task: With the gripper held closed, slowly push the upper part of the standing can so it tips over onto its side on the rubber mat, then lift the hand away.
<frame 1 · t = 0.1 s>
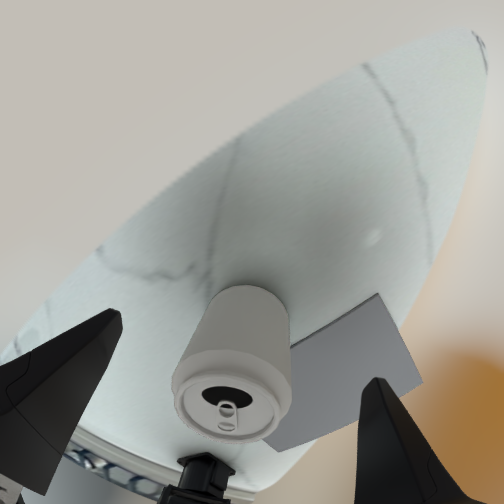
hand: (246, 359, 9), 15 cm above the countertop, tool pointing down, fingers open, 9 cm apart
can: (247, 318, 26), on the countertop
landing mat: (321, 391, 27), on the countertop
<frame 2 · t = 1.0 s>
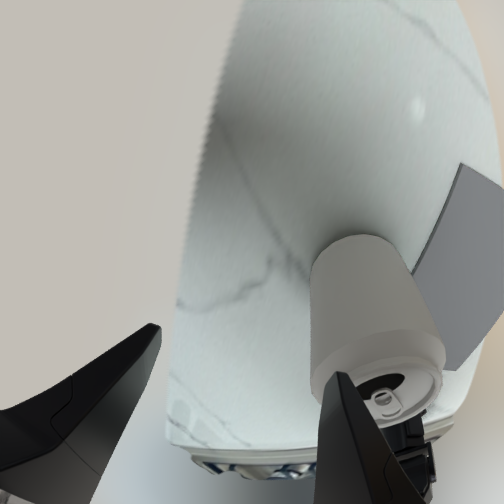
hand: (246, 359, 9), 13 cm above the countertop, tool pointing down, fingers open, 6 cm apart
can: (355, 271, 22), on the countertop
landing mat: (465, 292, 21), on the countertop
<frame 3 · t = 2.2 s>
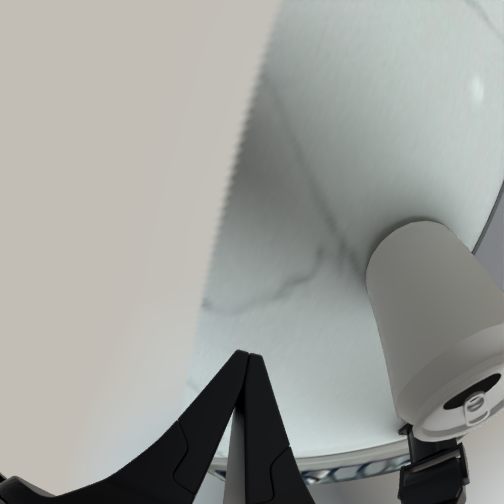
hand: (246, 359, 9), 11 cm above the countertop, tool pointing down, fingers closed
can: (411, 263, 18), on the countertop
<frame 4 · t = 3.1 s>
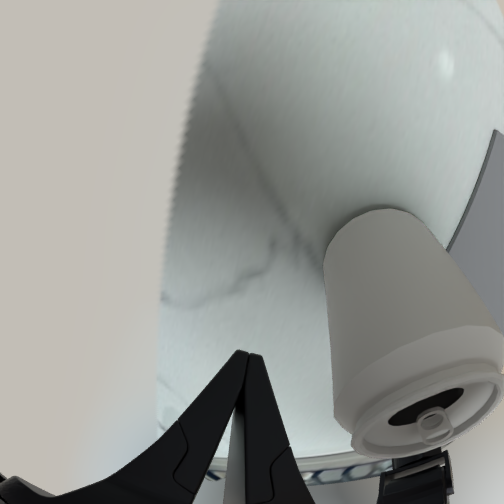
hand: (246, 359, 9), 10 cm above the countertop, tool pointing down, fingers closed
can: (377, 256, 17), on the countertop
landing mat: (496, 283, 17), on the countertop
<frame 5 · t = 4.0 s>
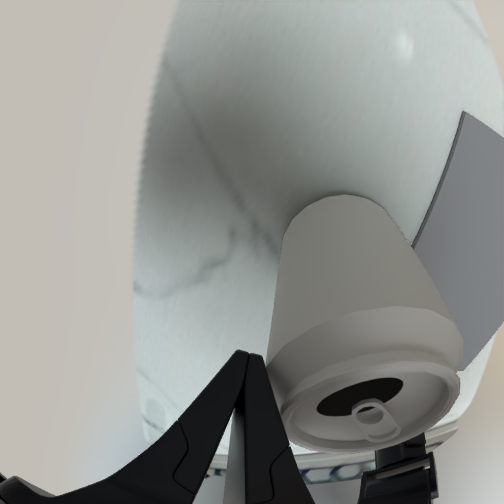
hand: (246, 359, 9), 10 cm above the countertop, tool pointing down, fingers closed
can: (340, 245, 18), on the countertop, touching gripper
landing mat: (476, 276, 17), on the countertop
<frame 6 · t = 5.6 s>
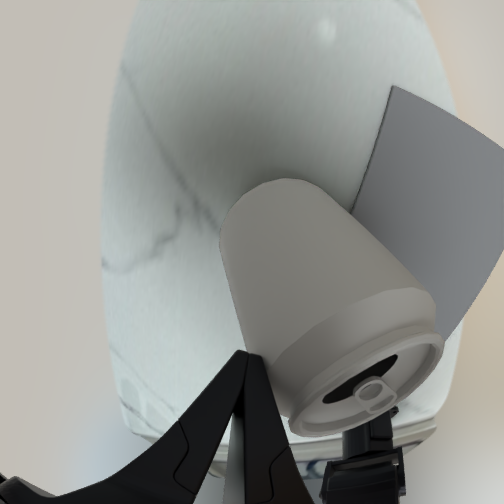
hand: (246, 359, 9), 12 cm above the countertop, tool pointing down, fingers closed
can: (276, 229, 18), point 1 cm above the countertop
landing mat: (427, 255, 18), on the countertop
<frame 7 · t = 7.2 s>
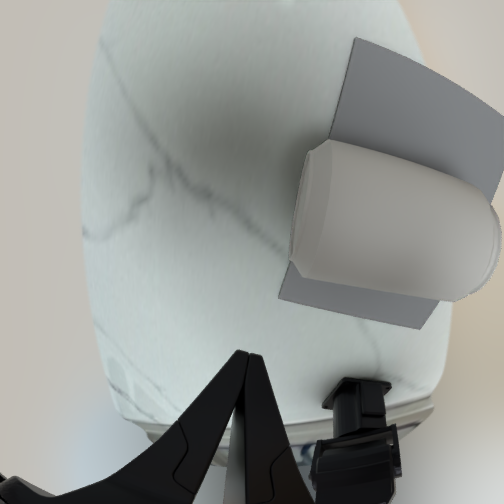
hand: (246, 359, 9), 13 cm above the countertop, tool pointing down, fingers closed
can: (295, 204, 15), point 4 cm above the countertop, touching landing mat
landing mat: (407, 209, 18), on the countertop
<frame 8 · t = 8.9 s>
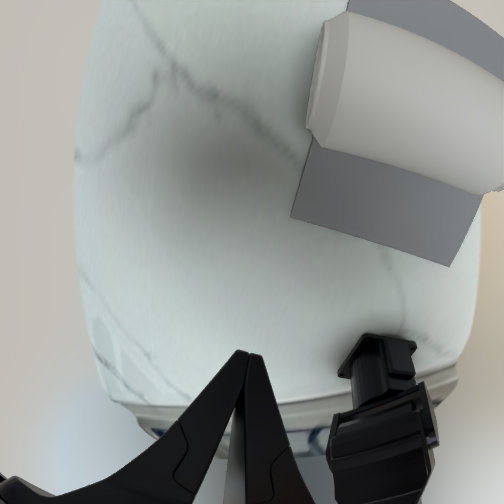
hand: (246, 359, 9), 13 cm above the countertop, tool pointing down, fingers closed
can: (311, 72, 12), point 4 cm above the countertop, touching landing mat
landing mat: (426, 115, 15), on the countertop
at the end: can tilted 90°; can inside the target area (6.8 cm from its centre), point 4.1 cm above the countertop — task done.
